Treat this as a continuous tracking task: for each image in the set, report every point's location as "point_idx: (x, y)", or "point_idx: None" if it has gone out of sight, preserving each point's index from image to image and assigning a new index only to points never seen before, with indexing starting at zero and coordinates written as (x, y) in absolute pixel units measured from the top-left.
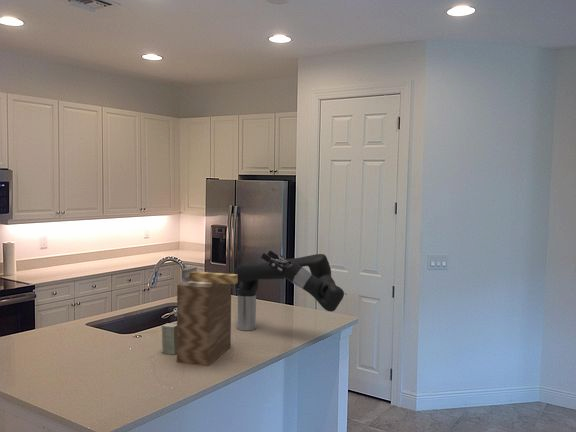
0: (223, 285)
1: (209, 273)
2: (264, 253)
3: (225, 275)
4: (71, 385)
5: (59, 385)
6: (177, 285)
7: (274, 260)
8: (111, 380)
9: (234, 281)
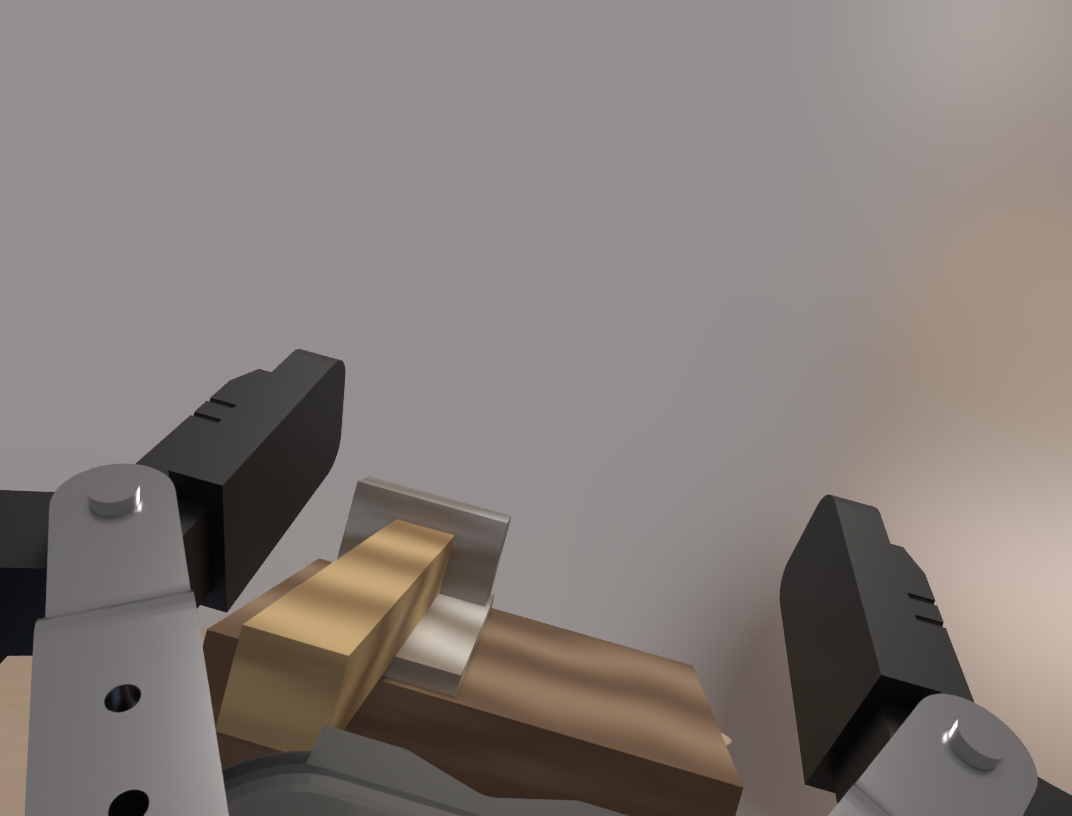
0: (522, 772)
1: (376, 555)
2: (310, 356)
3: (291, 594)
4: (10, 721)
5: (27, 700)
6: (317, 561)
7: (49, 573)
8: (3, 805)
9: (224, 694)
